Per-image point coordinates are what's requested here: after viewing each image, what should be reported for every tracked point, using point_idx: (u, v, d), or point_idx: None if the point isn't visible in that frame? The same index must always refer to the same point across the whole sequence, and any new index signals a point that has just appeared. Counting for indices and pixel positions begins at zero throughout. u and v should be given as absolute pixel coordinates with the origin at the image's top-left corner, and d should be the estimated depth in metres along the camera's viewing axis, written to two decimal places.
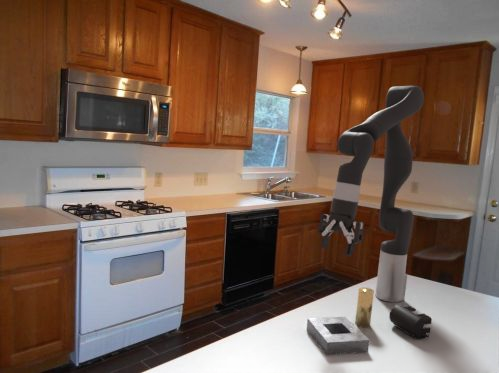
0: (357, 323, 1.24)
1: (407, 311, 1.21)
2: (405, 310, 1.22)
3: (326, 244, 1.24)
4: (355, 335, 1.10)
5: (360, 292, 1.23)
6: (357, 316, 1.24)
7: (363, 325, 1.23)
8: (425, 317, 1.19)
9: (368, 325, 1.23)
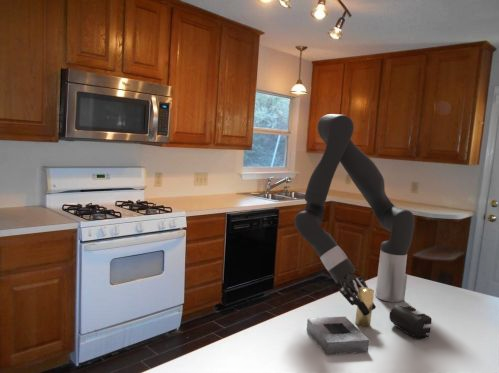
0: (357, 323, 1.24)
1: (407, 311, 1.21)
2: (405, 310, 1.22)
3: None
4: (355, 335, 1.10)
5: (360, 292, 1.23)
6: (357, 316, 1.24)
7: (363, 325, 1.23)
8: (425, 317, 1.19)
9: (368, 325, 1.23)
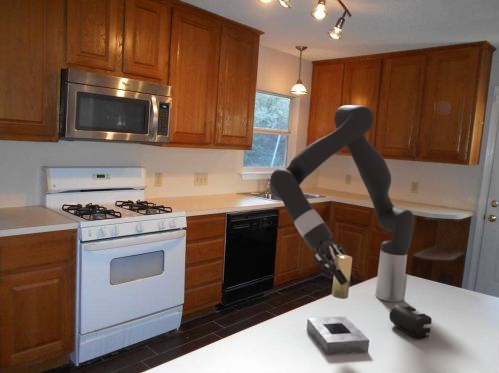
0: (334, 294, 1.11)
1: (407, 311, 1.21)
2: (405, 310, 1.22)
3: None
4: (355, 335, 1.10)
5: (337, 259, 1.10)
6: (334, 286, 1.11)
7: (340, 296, 1.10)
8: (425, 317, 1.19)
9: (346, 296, 1.10)
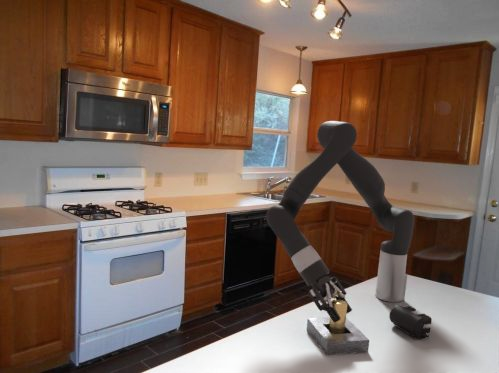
0: None
1: (407, 311, 1.21)
2: (405, 310, 1.22)
3: None
4: (355, 335, 1.10)
5: (332, 305, 1.12)
6: (329, 331, 1.13)
7: None
8: (425, 317, 1.19)
9: None
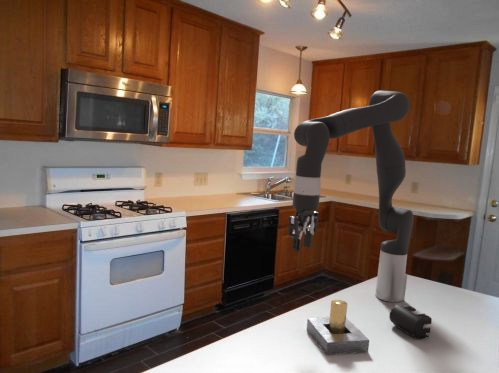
0: None
1: (407, 311, 1.21)
2: (405, 310, 1.22)
3: (307, 242, 1.21)
4: (355, 335, 1.10)
5: (332, 305, 1.12)
6: (329, 331, 1.13)
7: None
8: (425, 317, 1.19)
9: None
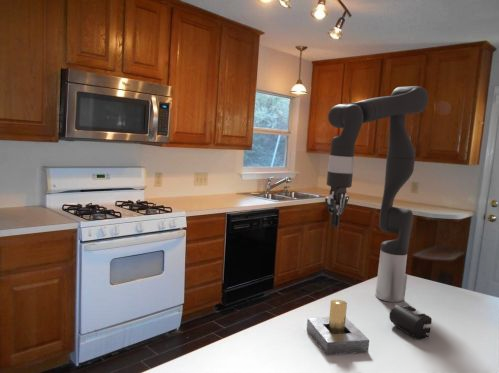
0: None
1: (407, 311, 1.21)
2: (405, 310, 1.22)
3: None
4: (355, 335, 1.10)
5: (332, 305, 1.12)
6: (329, 331, 1.13)
7: None
8: (425, 317, 1.19)
9: None
